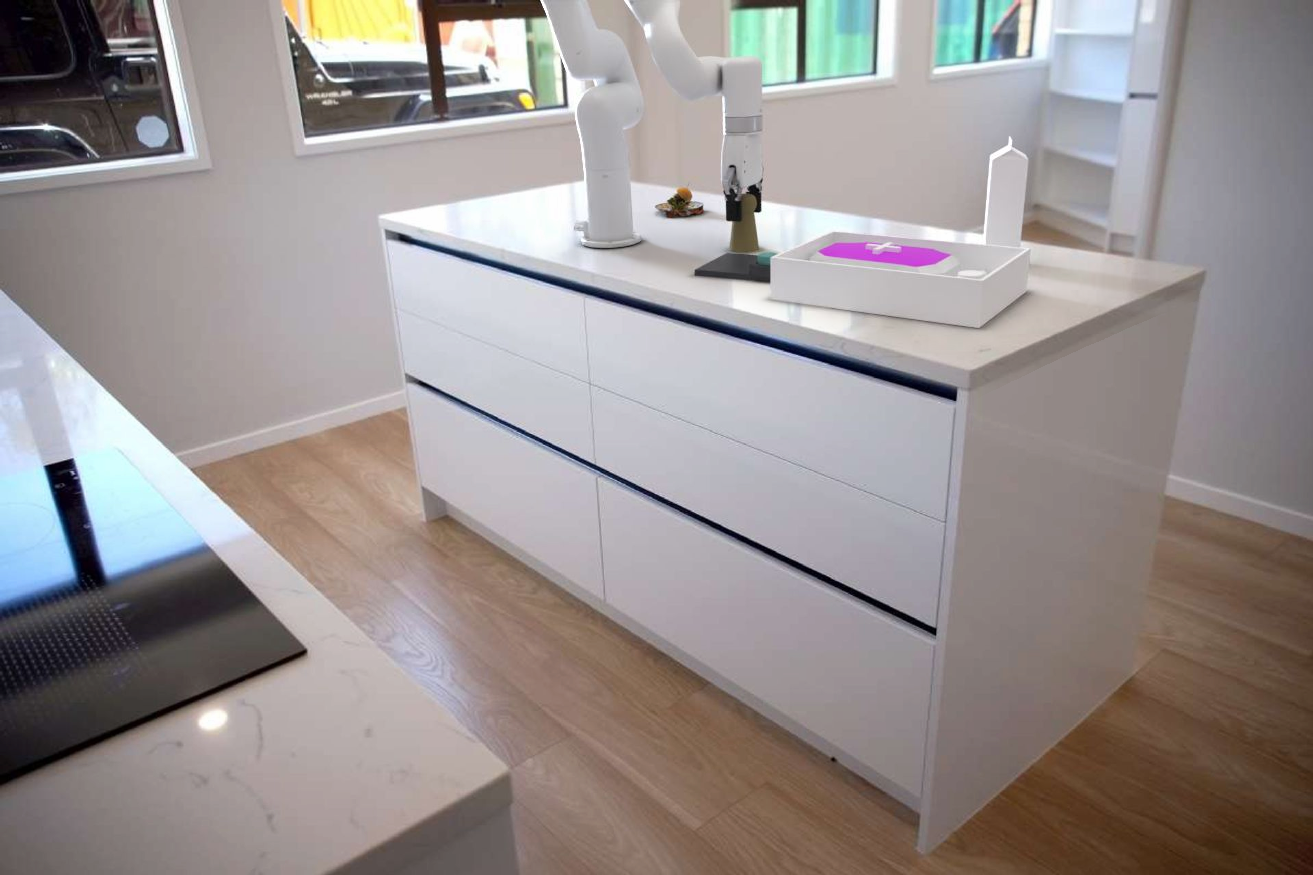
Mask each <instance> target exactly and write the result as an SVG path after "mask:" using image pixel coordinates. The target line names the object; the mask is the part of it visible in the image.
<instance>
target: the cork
mask: <svg viewBox="0 0 1313 875" xmlns="http://www.w3.org/2000/svg"><path fill="white" fill-rule="evenodd" d="M740 200H741V201H742V221H740V222H734V221H731V231H730V238H729V248H728V250H729V252H730V253H736V254H750V253H754V252H758V251H759V250H760V245H759V244H760V243H759V239H758V231H757V224H756V223H757V222H756V216H755V212H754V210H755V209H756V206H757V201H756V198H755V196H754V195H752V194H746V192H745V193H741V197H740Z"/></svg>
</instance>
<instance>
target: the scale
mask: <svg viewBox="0 0 1313 875" xmlns="http://www.w3.org/2000/svg"><path fill="white" fill-rule="evenodd" d="M693 271H694V276H695V277H696V276H697V277H707V278H717V279H728V280H739V281H751V282H762V283H771V269H770V265H760V264H758V254H750V253H736V252H726V253H724V254H722V255H720V256H718V257H716V258H714V259H712V260H710V261H709V262H706V263H705V264H703V265H701V266H699V267H697V268H695V269H694V270H693Z"/></svg>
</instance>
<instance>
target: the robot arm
mask: <svg viewBox="0 0 1313 875" xmlns="http://www.w3.org/2000/svg"><path fill="white" fill-rule="evenodd" d="M540 2H541V4H542V7H543V9H544V12H545V14H546V17H547V20H548V23H549V25H550V30H551V32H552V35H553V38H554V40H555V43H556V46H557V49H558V52H559V54H560V57H561V61H562V63H563V66H564V68H565V70H566V72H567V74H568V75H569V76H570V78H572V79H573V80H576V81H579V82H590V81H593V83H594V86H590V87H589V88H587V89H585V90H584V91H583V92H582V93H581V94H580V96H579V97H578V98H577V101H576V104H575V109H574V116H575V122H576V123H575V124H576V128H577V132H578V135H579V140H580V146H581V154H582V155H581V156H582V165H583V167H582V168H583V176H584V178H583V179H584V191H585V205H586V217H587V218H586V220H576V221H575V223H574V226H573V230H574V232H583V236H582V237H581V244H582V245H583V246H585V247H588V248H596V249H613V248H614V249H615V248H623V247H628V246H633V245H636V244H639V243H640V241H642V235H641V233H639V232H636V231H634V224H633V223H634V222H633V202H632V188H631V187H632V186H631V184H632V183H631V169H630V166H631V165H630V155H629V149H628V144H627V140H626V137H625V134H624V130H628V129H631V128H633V127H635V126H636V125H638V124H639V123H640V121H641V120H642V117H643V115H644V112H645V100H644V95H643V92H642V88H641V85H640V83H639V79H638V77H637V74H636V71H635V67H634V65H633V62H632V59H631V56H630V54H629V51H628V48H627V46H626V44H625V42H624V41H623V40H622V38H621V37H620V36H619V35H618V34H617V33H616V32H614V31H612V30H610V29H607V28H598V26H597V24H596V22H595V20H594V17H593V14H592V11H591V7H590V5H589V3H588V0H540ZM624 2H625V4H626V5H627V7H628V8H629V9H630V11H631V13H632V14H633V15H634V17H635V18H636V20H637V21H638V22H639V24H640V26H641V27H642V29H643V31H644V36H645V40H646V44H647V47H648V50H649V53H650V56H651V59H652V61H653V63H654V64H655V66H656V68H657V69H658V71H659V72H660V74H661V75H662V77H663V78H664V80H665V81H666V82H667V84H668V85H669V86H670V88H671V90H673V91H674V93H675V94H676V95H677V96H679V97H680V98H682V100H685V101H689V102H697V101H701V100H704V99H705V100H706V99H711V98H715V97H720V96H721V97H722V131H723V132H722V134H723V137H722V138H723V139H722V147H721V162H720V184H721V186H722V188H723V191H722V192H723V194H724V201H725V220H726V221H727V222H732V221H734V222H740V221H742V201H741V200H740V197H741V194H743V189H746V190H747V191H745V194H752V195H754V196H755V198H756V201H757V206H756V209H755V210H754V214H757V213H758V214H760V213H761V212H762V210H763V209H762V191H763V185H762V183H763V181H764V177H763V176H764V169H765V168H764V166H763V146H762V145H763V144H762V137H761V134H763V64H762V60H761V59H760V58H759V57H757V56H751V55H750V56H749V55H748V56H745V55H744V56H732V57H722V56H716V55H707V56H705V55H704V56H697V54H696V53H695V52H694V50H693V49H692V47H691V46H690V45H689V43H688V42H687V40H686V37H684V35H683V32H682V31H681V26H680V23H679V22H680V21H679V15H680V10H681V0H624Z"/></svg>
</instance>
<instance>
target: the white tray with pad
mask: <svg viewBox="0 0 1313 875" xmlns="http://www.w3.org/2000/svg"><path fill="white" fill-rule="evenodd" d="M1031 250H1032V249H1031V248H1030V247H1029V248H1028V247H1020V248H1019V247H1008V246H996V245H985V244H983V243H973V242H961V241H952V240H951V241H950V240H941V239H928V238H917V237H906V236H896V235H885V234H884V235H883V234H873V233H862V232H861V233H860V232H852V231H842V230H841V231H840V230H831V231H829V232H826V233H824V234H822V235H819V236H817V237H815V238H813V239H809V240H808V241H805V242H803V243H800V244H797V245H795V246H793V247H791V248H789V249H787V250H784V251H782V252H780V253H777V255H775V256H772V257H770V269H771V282H770V300H773V301H780V302H787V303H795V304H802V305H809V306H816V307H817V306H818V307H824V308H830V309H836V310H844V311H851V312H858V313H865V314H872V315H878V316H879V315H880V316H886V317H887V316H888V317H894V318H903V319H909V320H917V321H924V322H932V323H939V324H944V325H954V326H960V327H967V328H974V329H975V328H976V329H980V328H981V327H983V326H984V325H985V324H987V323H988V322H989V321H990V320H992V319H993V318H994V317H995V316H997V315H999V313H1001V312H1002V311H1004V309H1006V308H1008V307H1009V306H1010V305H1011V304H1012V303H1014V302H1015V301H1017V299H1019V298H1020V297H1021V296H1023V295H1024V294H1025V293H1027V289H1028V279H1029V271H1030V270H1029V269H1030V260H1031Z"/></svg>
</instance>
